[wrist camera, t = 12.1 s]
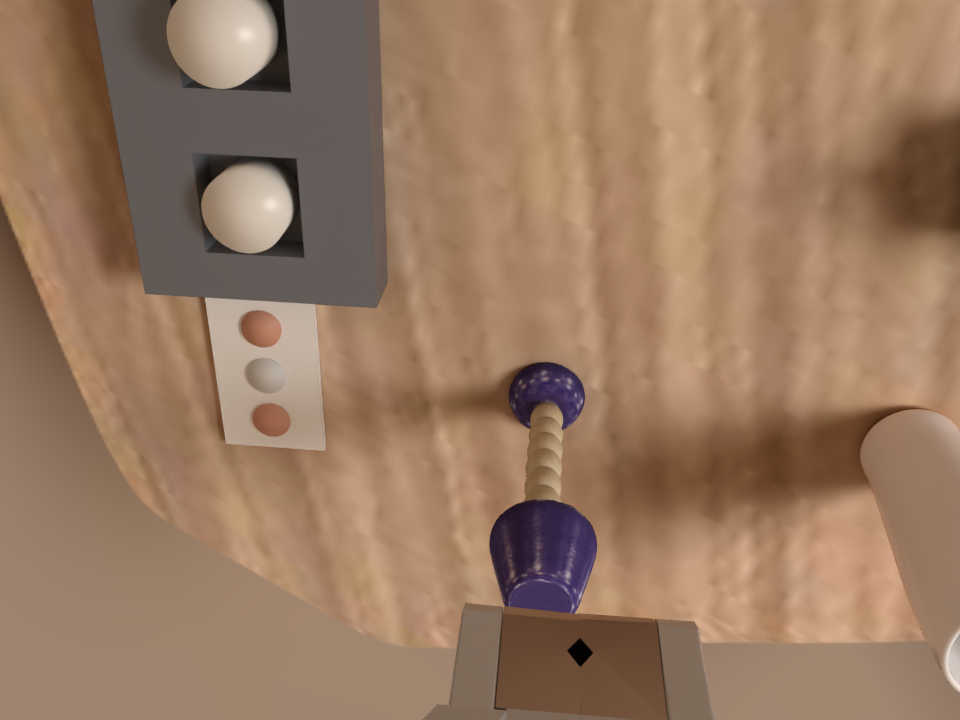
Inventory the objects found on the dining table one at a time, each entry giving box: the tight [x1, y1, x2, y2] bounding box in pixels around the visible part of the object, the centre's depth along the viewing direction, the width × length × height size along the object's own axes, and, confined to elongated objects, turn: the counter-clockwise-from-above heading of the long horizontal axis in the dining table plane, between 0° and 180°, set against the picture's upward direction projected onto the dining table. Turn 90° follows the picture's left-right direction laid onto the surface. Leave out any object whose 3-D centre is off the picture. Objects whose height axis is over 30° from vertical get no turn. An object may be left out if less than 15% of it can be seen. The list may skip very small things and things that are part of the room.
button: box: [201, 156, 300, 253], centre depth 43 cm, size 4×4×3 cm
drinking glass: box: [860, 409, 960, 693], centre depth 43 cm, size 7×7×15 cm
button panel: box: [92, 0, 387, 308], centre depth 40 cm, size 26×12×3 cm, turn 179°
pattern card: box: [205, 298, 326, 451], centre depth 50 cm, size 10×6×1 cm, turn 179°
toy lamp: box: [489, 363, 597, 614], centre depth 42 cm, size 5×5×17 cm
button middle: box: [167, 0, 280, 89], centre depth 38 cm, size 4×4×3 cm
